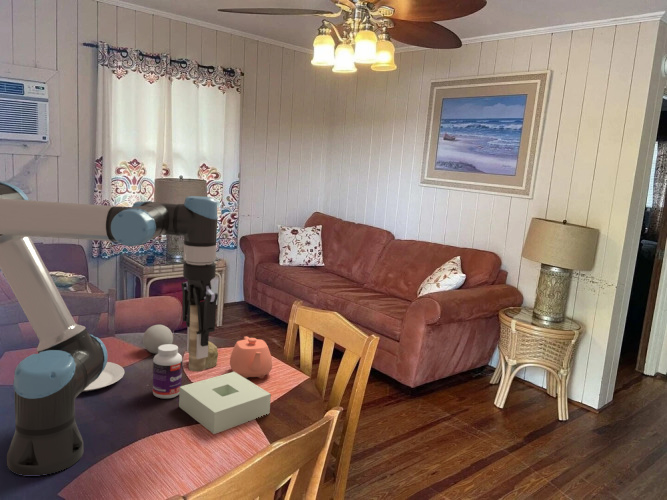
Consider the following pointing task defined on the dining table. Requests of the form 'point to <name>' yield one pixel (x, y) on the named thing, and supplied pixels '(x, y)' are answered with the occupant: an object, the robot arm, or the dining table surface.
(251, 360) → the teapot
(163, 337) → the ball
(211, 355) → the decorative object
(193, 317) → the dowel
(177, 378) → the pill bottle
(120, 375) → the plate
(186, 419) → the dining table surface
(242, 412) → the bore block
